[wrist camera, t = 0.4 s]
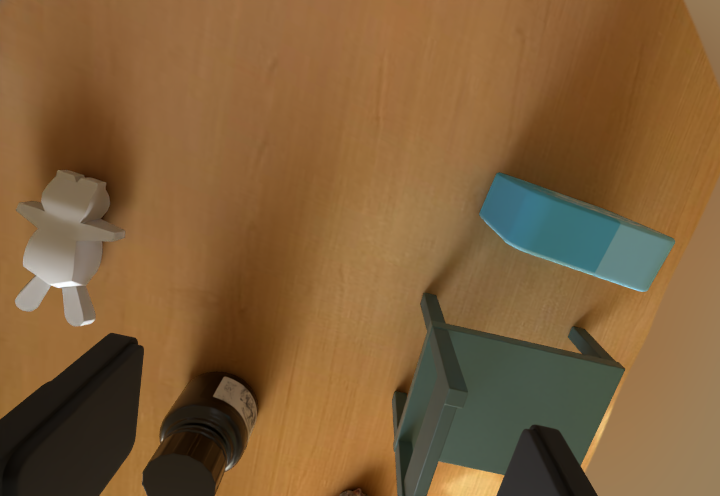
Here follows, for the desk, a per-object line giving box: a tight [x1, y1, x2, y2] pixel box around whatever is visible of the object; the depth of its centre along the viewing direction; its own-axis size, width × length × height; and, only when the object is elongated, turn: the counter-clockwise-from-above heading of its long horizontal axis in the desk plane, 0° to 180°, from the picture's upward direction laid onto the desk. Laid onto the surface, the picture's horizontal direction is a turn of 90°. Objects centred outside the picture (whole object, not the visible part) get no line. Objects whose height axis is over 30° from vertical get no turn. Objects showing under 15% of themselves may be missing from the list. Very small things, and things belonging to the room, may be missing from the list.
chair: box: [392, 293, 625, 496], centre depth 41 cm, size 14×18×17 cm
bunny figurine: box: [15, 170, 125, 326], centre depth 45 cm, size 10×5×15 cm
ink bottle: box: [142, 372, 258, 496], centre depth 46 cm, size 10×9×12 cm
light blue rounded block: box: [479, 172, 675, 292], centre depth 39 cm, size 12×4×12 cm, turn 71°
